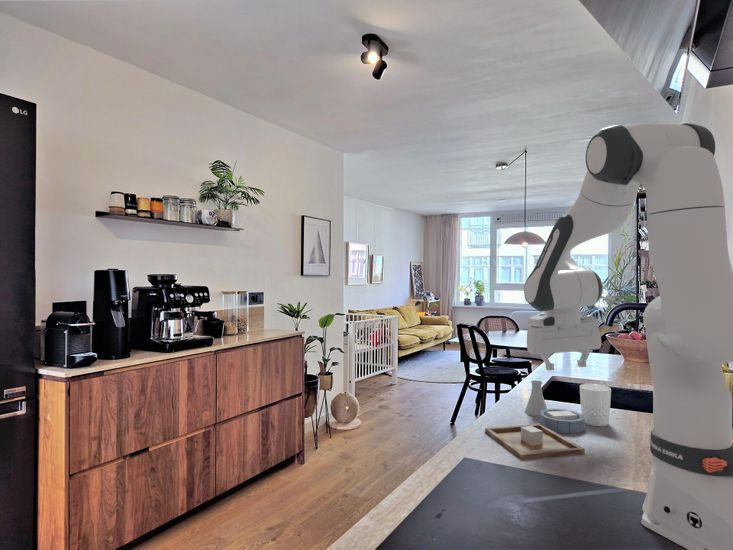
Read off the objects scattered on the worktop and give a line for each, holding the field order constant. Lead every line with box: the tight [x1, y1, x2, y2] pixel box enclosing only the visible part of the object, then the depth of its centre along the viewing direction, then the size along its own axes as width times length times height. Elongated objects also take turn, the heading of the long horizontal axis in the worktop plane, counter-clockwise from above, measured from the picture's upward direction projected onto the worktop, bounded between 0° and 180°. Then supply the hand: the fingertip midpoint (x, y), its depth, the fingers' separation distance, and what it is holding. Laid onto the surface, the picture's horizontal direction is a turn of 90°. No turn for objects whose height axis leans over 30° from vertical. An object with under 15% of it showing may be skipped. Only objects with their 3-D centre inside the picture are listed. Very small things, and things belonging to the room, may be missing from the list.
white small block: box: [558, 409, 577, 420], centre depth 126 cm, size 4×3×3 cm
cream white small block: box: [521, 426, 543, 446], centre depth 113 cm, size 4×3×3 cm
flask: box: [524, 379, 548, 417], centre depth 137 cm, size 7×7×10 cm
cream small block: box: [546, 411, 565, 420], centre depth 125 cm, size 4×3×3 cm
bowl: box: [539, 408, 585, 434], centre depth 125 cm, size 11×11×4 cm
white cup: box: [579, 383, 612, 427], centre depth 130 cm, size 8×8×10 cm
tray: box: [484, 423, 586, 461], centre depth 114 cm, size 18×16×2 cm
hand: (566, 368), depth 125 cm, fingers open, 8 cm apart
